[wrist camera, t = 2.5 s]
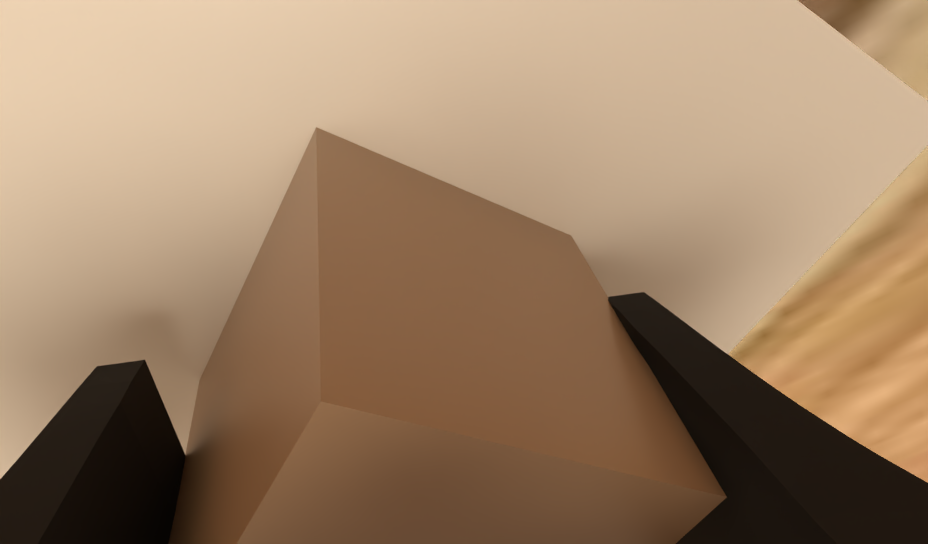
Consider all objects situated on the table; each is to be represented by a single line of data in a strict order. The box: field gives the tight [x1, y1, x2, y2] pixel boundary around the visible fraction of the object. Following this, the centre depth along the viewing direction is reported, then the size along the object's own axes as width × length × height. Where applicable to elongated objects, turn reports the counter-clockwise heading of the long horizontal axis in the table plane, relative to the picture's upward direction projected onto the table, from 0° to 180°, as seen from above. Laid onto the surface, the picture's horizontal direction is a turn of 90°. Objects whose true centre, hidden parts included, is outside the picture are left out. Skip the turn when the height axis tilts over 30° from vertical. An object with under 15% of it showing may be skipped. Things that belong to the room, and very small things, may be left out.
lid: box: [0, 0, 928, 544], centre depth 9 cm, size 14×14×6 cm
